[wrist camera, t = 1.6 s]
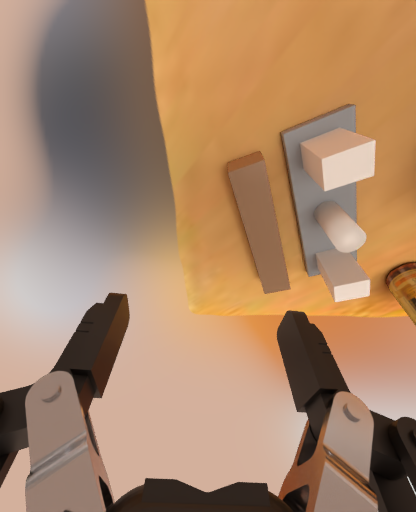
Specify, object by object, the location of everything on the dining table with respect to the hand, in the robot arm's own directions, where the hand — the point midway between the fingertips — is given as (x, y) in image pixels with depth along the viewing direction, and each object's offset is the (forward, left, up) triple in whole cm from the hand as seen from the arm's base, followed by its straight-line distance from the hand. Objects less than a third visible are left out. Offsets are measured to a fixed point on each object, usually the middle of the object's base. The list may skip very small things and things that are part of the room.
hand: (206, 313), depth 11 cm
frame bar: (-3, +9, -22) cm, 24 cm away
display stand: (-12, +9, -22) cm, 26 cm away
